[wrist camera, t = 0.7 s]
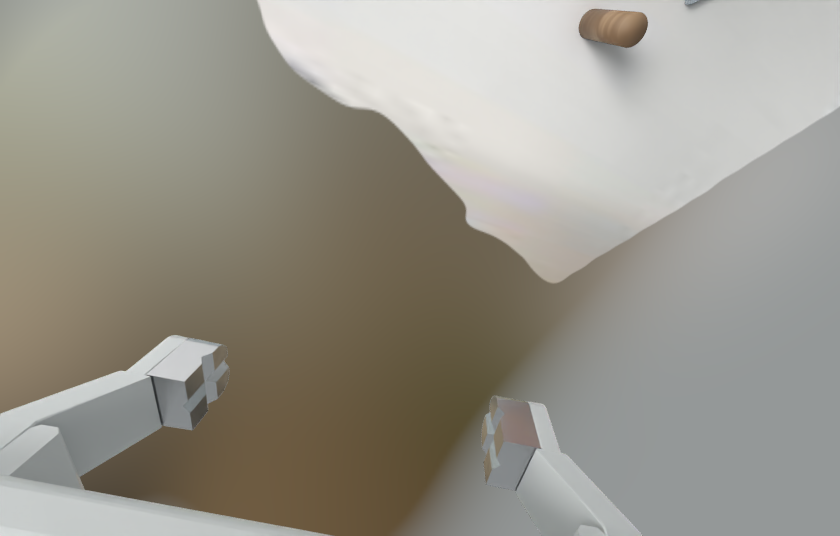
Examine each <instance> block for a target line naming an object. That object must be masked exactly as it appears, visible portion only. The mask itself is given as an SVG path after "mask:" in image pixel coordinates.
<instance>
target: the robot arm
mask: <svg viewBox="0 0 840 536" xmlns="http://www.w3.org/2000/svg"><path fill="white" fill-rule="evenodd" d="M227 356H228V354H227V347H226V346H224V345H221V344H217V343H212V342H207V341H203V340H198V339H193V338H186V337H182V336H177V335H173V336H169V337H168V338H166V339H165V340H164V341H163V342H161V343H160V344H159V345H158V346H157V347H155V348H154V349H153V350H152V351H150V352H149V353H148V354H147V355H146V356H144V357H143V358H142V359H141V360H140V361H138V362H137V363H136V364H135V365H133V366H132V367H131V368H130V369H129V370H127V371H126V372H125V371H118V372H115V373H112V374H110V375H107V376H104V377H101V378H98V379H96V380H93V381H90V382H87V383H85V384H82V385H79V386H76V387H74V388H71V389H68V390H65V391H62V392H59V393H57V394H54V395H51V396H48V397H46V398H43V399H40V400H37V401H34V402H31V403H29V404H26V405H23V406H20V407H18V408H15V409H12V410H9V411H6V412H4V413H1V414H0V536H331V535H326V534H321V533H315V532H310V531H305V530H299V529H294V528H288V527H283V526H277V525H272V524H266V523H261V522H256V521H250V520H245V519H239V518H234V517H228V516H223V515H217V514H212V513H207V512H201V511H196V510H189V509H185V508H180V507H174V506H169V505H163V504H158V503H152V502H147V501H142V500H136V499H131V498H125V497H120V496H114V495H109V494H104V493H98V492H93V491H87V490H84V487H83V485H82V483H81V480H80V478H79V477H80V476H82V475H83V474H85V473H86V472H88V471H90V470H92V469H93V468H95V467H96V466H98V465H100V464H101V463H103V462H105V461H107V460H108V459H110V458H111V457H113V456H115V455H116V454H118V453H120V452H121V451H123V450H125V449H126V448H128V447H129V446H131V445H133V444H135V443H136V442H138V441H140V440H141V439H143V438H145V437H146V436H148V435H150V434H151V433H153V432H155V431H156V430H158V429H159V428H161V427H162V426H161V425H163V426H169V427H175V428H182V429H188V430H193V429H194V428H195V427H196V425H197V424H198V423H199V422H200V420H201V419H202V418H203V417H204V415H205V414H206V413H207V412H208V403H210V402H212V401H214V400H216V399H218V398H219V396H220V395H221V394H222V392H223V391H224V389H225V387H226V385H227V382H228V379H229V367H228V365H227V364H226V363H225V362H224V359H225V358H226V357H227ZM489 407H490V413H488V414H487V415H485V418H484V421H483V426H482V432H481V433H482V434H481V436H482V437H481V440H482V449H483V450H484V451H485V453H486V457H485V460H484V462H483V463H484V471H485V481H486V485H490V486H494V487H498V488H503V489H508V490H512V491H516V492H515V493H516V495H517V497H518V498H519V500H520V501H521V503H522V505H523V506H524V508H525V510H526V511H527V513H528V514H529V516H530V518H531V519H532V521H533V523H534V524H535V526H536V528H537V529H538V531H539V532H540V534H541V536H643V535H642V534H641V533H640V532H639V531H638V530H637V529H636V528H635V527H634V525H633V524H632V523H631V522H630V521H629V520H628V519H627V518H626V517H625V516H624V515H623V514H622V513H621V512H620V511H619V510H618V508H617V507H616V506H615V505H614V504H613V503H612V502H611V501H610V500H609V499H608V498H607V497H606V496H605V495H604V494H603V493H602V492H601V491H600V489H599V488H598V487H597V486H596V485H595V484H594V483H593V482H592V481H591V480H590V479H589V478H588V477H587V476H586V474H584V472H583V471H582V470H581V469H580V468H579V467H578V466H577V465H576V464H575V463H574V462H573V461H572V460H571V459H570V457H569V456H568V455H566V454H564V453H561V451H560V448H559V445H558V442H557V439H556V436H555V434H554V430H553V427H552V424H551V421H550V418H549V415H548V412H547V409H546V407H545V406H544V404H540V403H534V402H528V401H522V400H516V399H511V398H505V397H500V396H493V397H492V399H491V401H490V404H489Z"/></svg>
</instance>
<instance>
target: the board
mask: <svg viewBox="0 0 840 536" xmlns="http://www.w3.org/2000/svg"><path fill="white" fill-rule="evenodd" d="M697 1H699V0H685V4H693V3H695V2H697Z"/></svg>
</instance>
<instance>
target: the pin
mask: <svg viewBox="0 0 840 536" xmlns="http://www.w3.org/2000/svg"><path fill="white" fill-rule="evenodd" d="M647 26H648V21H647V17H646V16H645V14H643V13H641V12H630V11H617V10H603V9H592V10H589V11H588V12H586V13H585V14H584V16H583V17H582V19H581V21H580V24H579V33H580V35H581V36H582V37H583V38H585V39H590V40H594V41H599V42H603V43H607V44H612V45H616V46H621V47H626V48H628V47H632V46H634V45H636V44H637V43H638V42H639V41H640V40H641V39H642V38H643V36H644V35H645V33H646V30H647Z"/></svg>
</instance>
